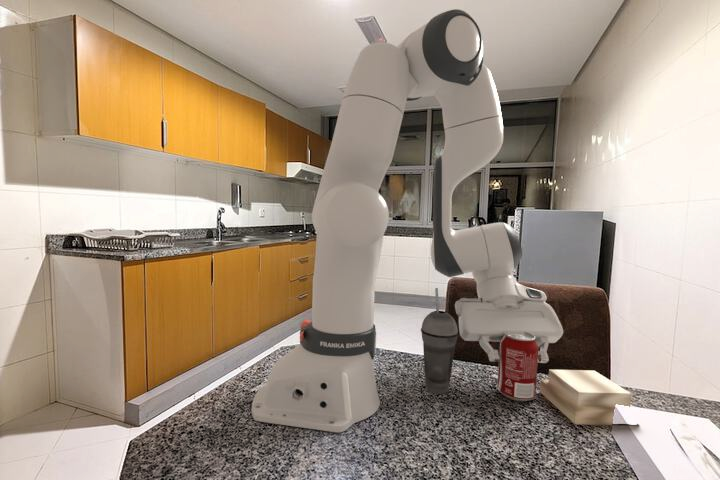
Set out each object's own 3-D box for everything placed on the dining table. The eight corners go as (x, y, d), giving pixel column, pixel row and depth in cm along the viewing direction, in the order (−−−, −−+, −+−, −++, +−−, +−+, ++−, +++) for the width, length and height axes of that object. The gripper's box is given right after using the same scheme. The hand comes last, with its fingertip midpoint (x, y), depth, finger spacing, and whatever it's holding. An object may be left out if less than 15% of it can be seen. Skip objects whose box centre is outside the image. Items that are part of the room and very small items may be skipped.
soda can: (540, 406, 63) (543, 342, 62) (500, 401, 64) (504, 338, 64) (529, 389, 70) (533, 330, 69) (494, 384, 71) (497, 327, 70)
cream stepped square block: (574, 424, 58) (576, 395, 57) (539, 391, 69) (541, 367, 68) (639, 425, 58) (641, 396, 58) (594, 392, 69) (595, 368, 69)
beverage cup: (438, 401, 64) (443, 294, 63) (410, 385, 70) (414, 287, 69) (463, 390, 68) (468, 290, 67) (435, 376, 74) (439, 284, 73)
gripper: (456, 289, 73) (469, 352, 64) (552, 292, 73) (579, 355, 64) (450, 305, 78) (461, 366, 68) (540, 308, 78) (563, 368, 69)
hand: (519, 361), depth 66 cm, fingers open, 8 cm apart
